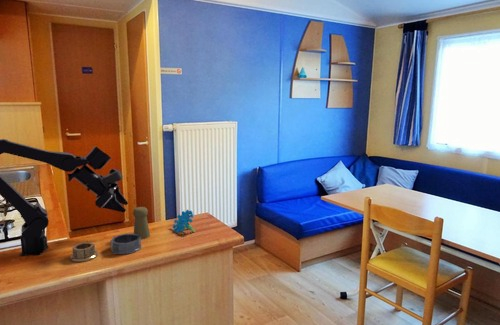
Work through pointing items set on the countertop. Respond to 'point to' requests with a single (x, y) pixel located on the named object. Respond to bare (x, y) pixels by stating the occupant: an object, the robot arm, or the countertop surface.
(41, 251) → the robot arm
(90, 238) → the countertop surface
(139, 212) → the cork
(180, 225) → the gear
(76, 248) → the small collar
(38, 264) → the countertop surface
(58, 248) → the countertop surface
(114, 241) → the fitting collar
